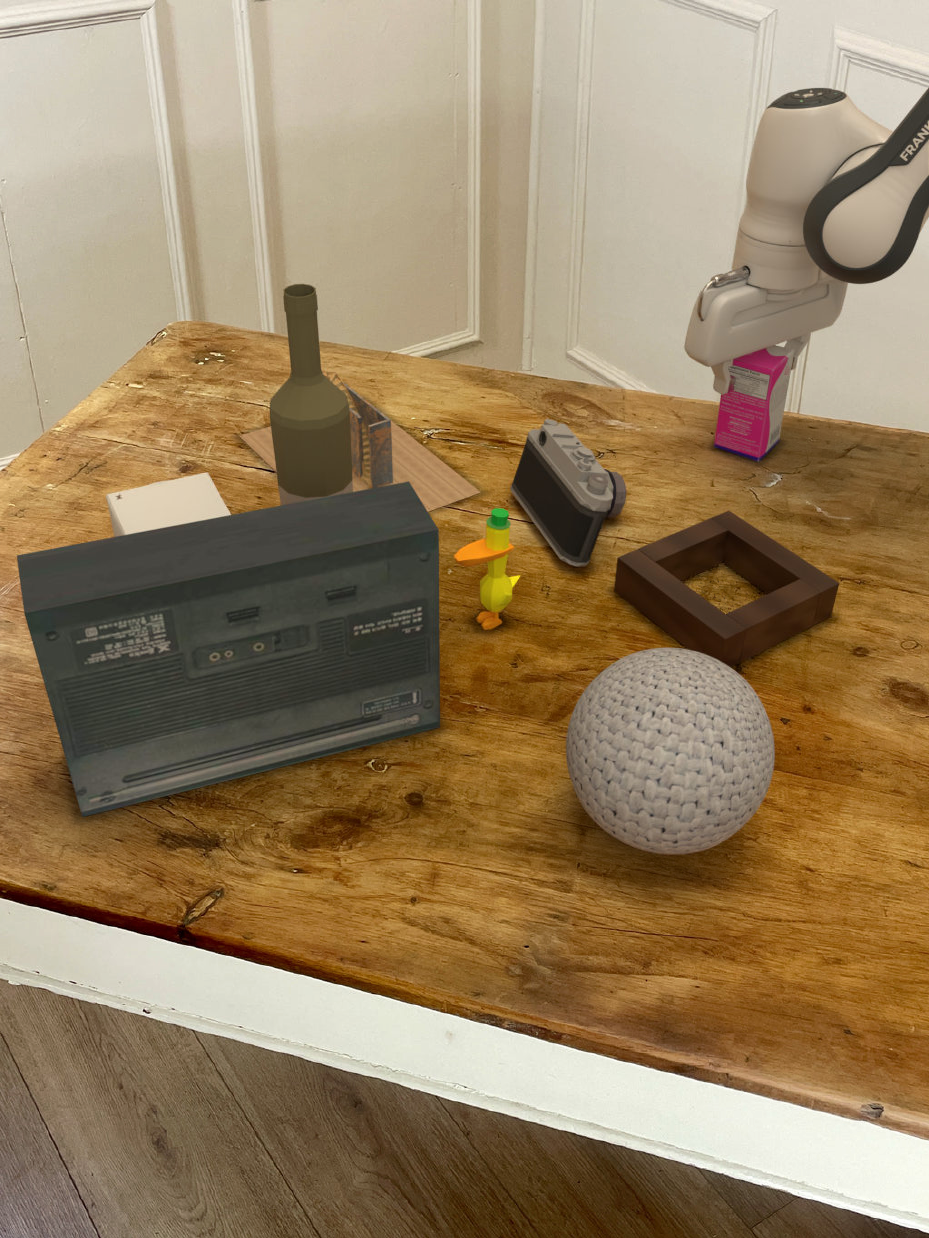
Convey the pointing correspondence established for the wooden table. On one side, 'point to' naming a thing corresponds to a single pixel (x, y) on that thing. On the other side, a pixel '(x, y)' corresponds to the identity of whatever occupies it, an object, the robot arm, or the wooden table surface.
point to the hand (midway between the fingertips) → (754, 380)
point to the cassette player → (237, 642)
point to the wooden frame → (728, 539)
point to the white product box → (165, 504)
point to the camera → (566, 491)
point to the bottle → (309, 413)
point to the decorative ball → (670, 751)
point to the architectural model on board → (383, 455)
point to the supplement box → (754, 403)
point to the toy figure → (492, 567)
